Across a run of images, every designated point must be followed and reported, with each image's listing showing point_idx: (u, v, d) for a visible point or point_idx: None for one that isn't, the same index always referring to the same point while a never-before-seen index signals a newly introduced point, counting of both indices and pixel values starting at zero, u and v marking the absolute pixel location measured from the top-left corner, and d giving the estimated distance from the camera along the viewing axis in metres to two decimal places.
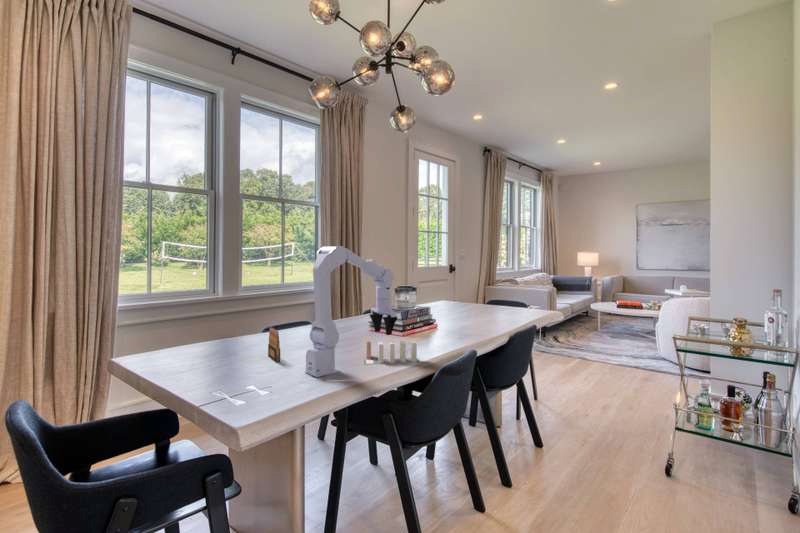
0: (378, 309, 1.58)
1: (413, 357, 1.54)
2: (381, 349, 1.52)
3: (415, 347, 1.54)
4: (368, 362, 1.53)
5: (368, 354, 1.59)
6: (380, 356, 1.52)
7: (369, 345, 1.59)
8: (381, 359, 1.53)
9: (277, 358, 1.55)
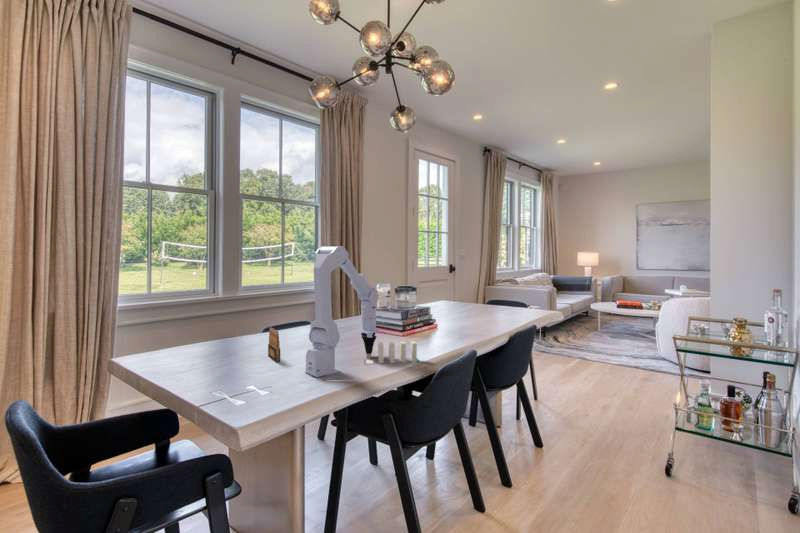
0: (361, 328, 1.59)
1: (413, 357, 1.54)
2: (381, 349, 1.52)
3: (415, 347, 1.54)
4: (368, 362, 1.53)
5: (368, 354, 1.59)
6: (380, 356, 1.52)
7: None
8: (381, 359, 1.53)
9: (277, 358, 1.55)
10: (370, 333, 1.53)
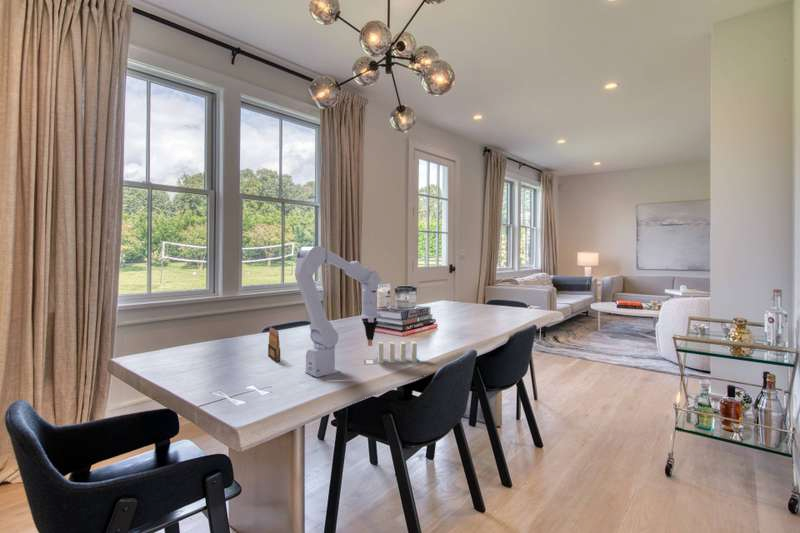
0: (362, 313, 1.52)
1: (413, 357, 1.54)
2: (381, 349, 1.52)
3: (415, 347, 1.54)
4: (368, 362, 1.53)
5: (369, 340, 1.52)
6: (380, 356, 1.52)
7: None
8: (381, 359, 1.53)
9: (277, 358, 1.55)
10: (371, 318, 1.46)
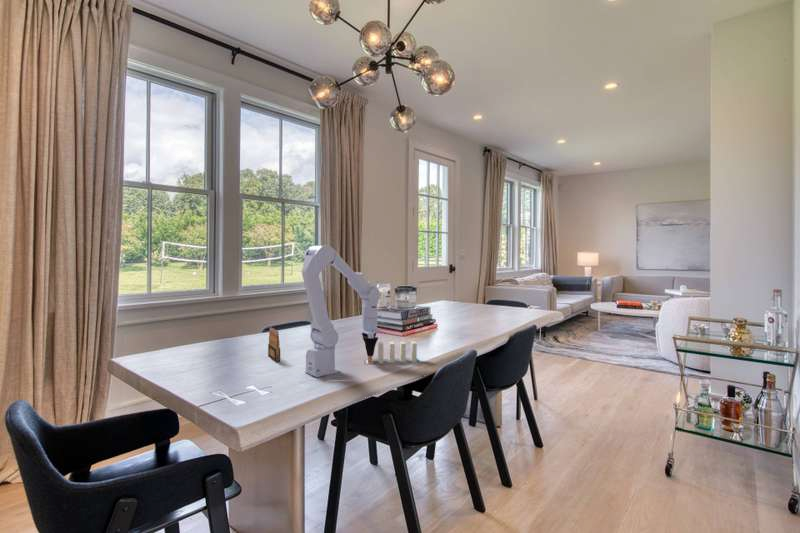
0: (362, 328, 1.52)
1: (413, 357, 1.54)
2: (381, 349, 1.52)
3: (415, 347, 1.54)
4: None
5: (369, 357, 1.52)
6: (380, 356, 1.52)
7: None
8: (381, 359, 1.53)
9: (277, 358, 1.55)
10: (371, 334, 1.46)
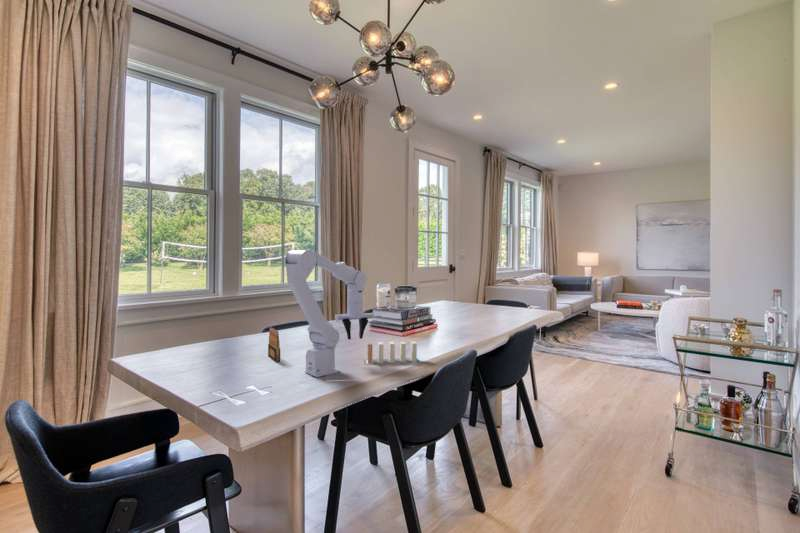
0: None
1: (413, 357, 1.54)
2: (381, 349, 1.52)
3: (415, 347, 1.54)
4: None
5: (369, 357, 1.52)
6: (380, 356, 1.52)
7: (370, 348, 1.52)
8: (381, 359, 1.53)
9: (277, 358, 1.55)
10: (335, 316, 1.50)
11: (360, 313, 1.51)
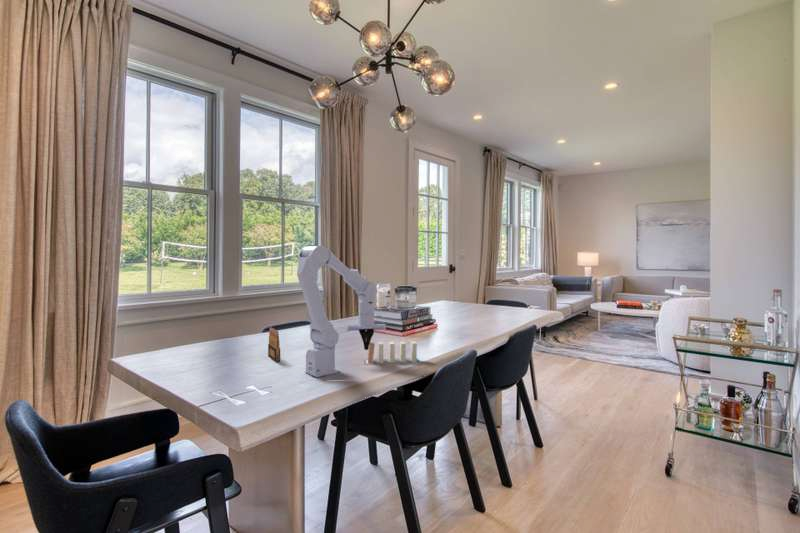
0: None
1: (413, 357, 1.54)
2: (381, 349, 1.52)
3: (415, 347, 1.54)
4: None
5: (370, 357, 1.52)
6: (380, 356, 1.52)
7: (372, 348, 1.52)
8: (381, 359, 1.53)
9: (277, 358, 1.55)
10: None
11: (370, 324, 1.51)
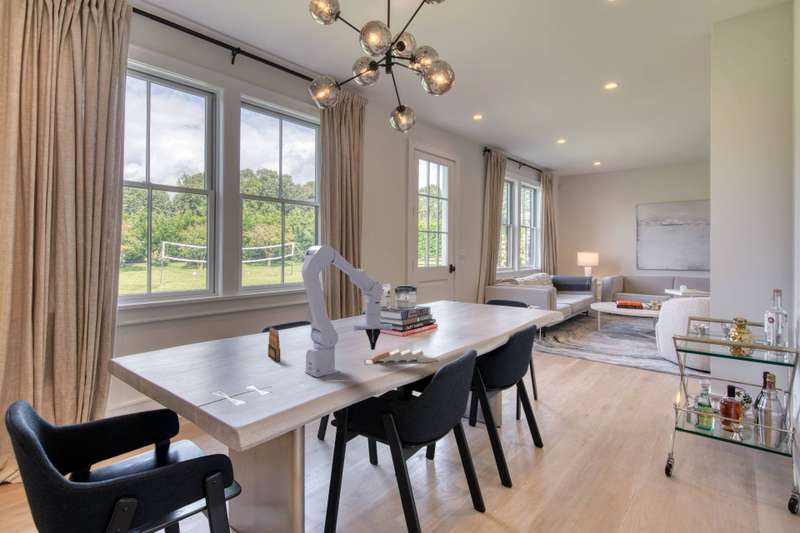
0: None
1: (421, 358, 1.55)
2: (395, 355, 1.53)
3: (431, 360, 1.55)
4: (368, 362, 1.53)
5: (376, 358, 1.52)
6: (388, 357, 1.53)
7: (385, 355, 1.53)
8: (386, 359, 1.53)
9: (277, 358, 1.55)
10: None
11: (377, 324, 1.51)
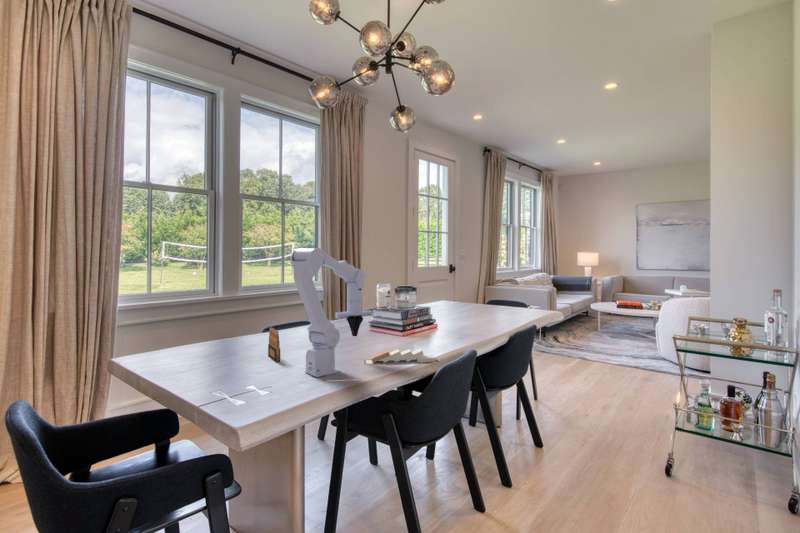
0: None
1: (421, 358, 1.55)
2: (395, 355, 1.53)
3: (431, 360, 1.55)
4: (368, 362, 1.53)
5: (376, 358, 1.52)
6: (388, 357, 1.53)
7: (385, 355, 1.53)
8: (386, 359, 1.53)
9: (277, 358, 1.55)
10: (336, 314, 1.52)
11: (360, 310, 1.54)
